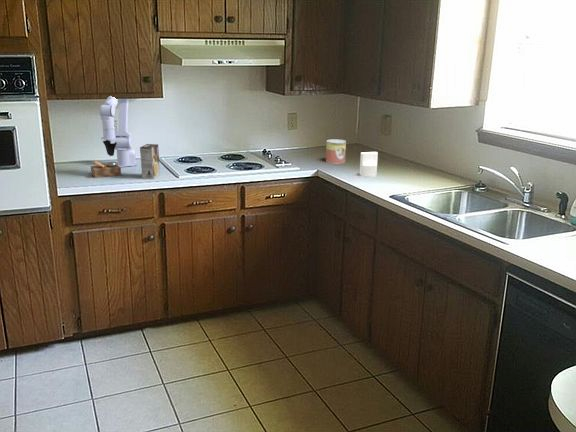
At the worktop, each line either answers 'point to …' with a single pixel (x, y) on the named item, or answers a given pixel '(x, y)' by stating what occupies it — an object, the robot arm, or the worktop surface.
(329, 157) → the canned food
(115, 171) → the hitch block
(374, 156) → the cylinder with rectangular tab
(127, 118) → the robot arm
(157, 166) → the coffee box
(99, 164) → the block
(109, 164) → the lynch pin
